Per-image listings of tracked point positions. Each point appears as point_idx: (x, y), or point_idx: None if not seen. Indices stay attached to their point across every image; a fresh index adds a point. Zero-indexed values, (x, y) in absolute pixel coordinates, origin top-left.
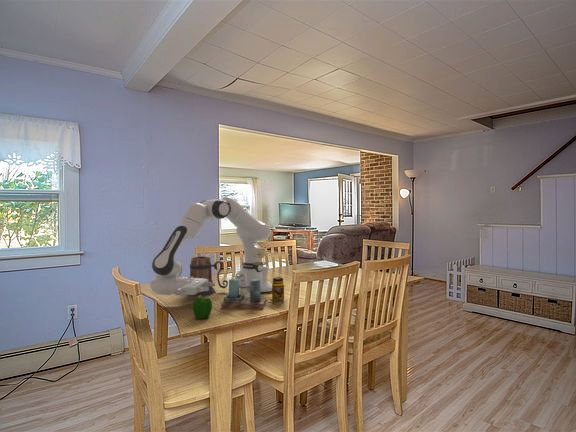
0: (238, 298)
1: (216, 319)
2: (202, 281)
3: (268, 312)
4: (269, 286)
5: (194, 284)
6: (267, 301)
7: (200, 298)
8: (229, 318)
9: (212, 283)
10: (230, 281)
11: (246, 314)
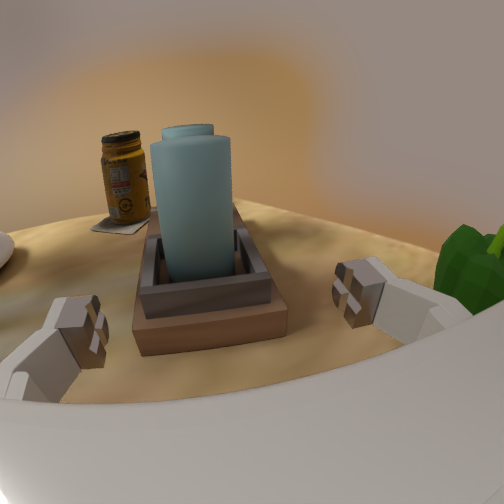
0: (242, 230)
1: (428, 281)
2: (70, 441)
3: (264, 209)
4: (1, 232)
5: (493, 413)
6: (130, 231)
7: (497, 260)
8: (388, 257)
9: (87, 310)
10: (227, 146)
11: (315, 236)
